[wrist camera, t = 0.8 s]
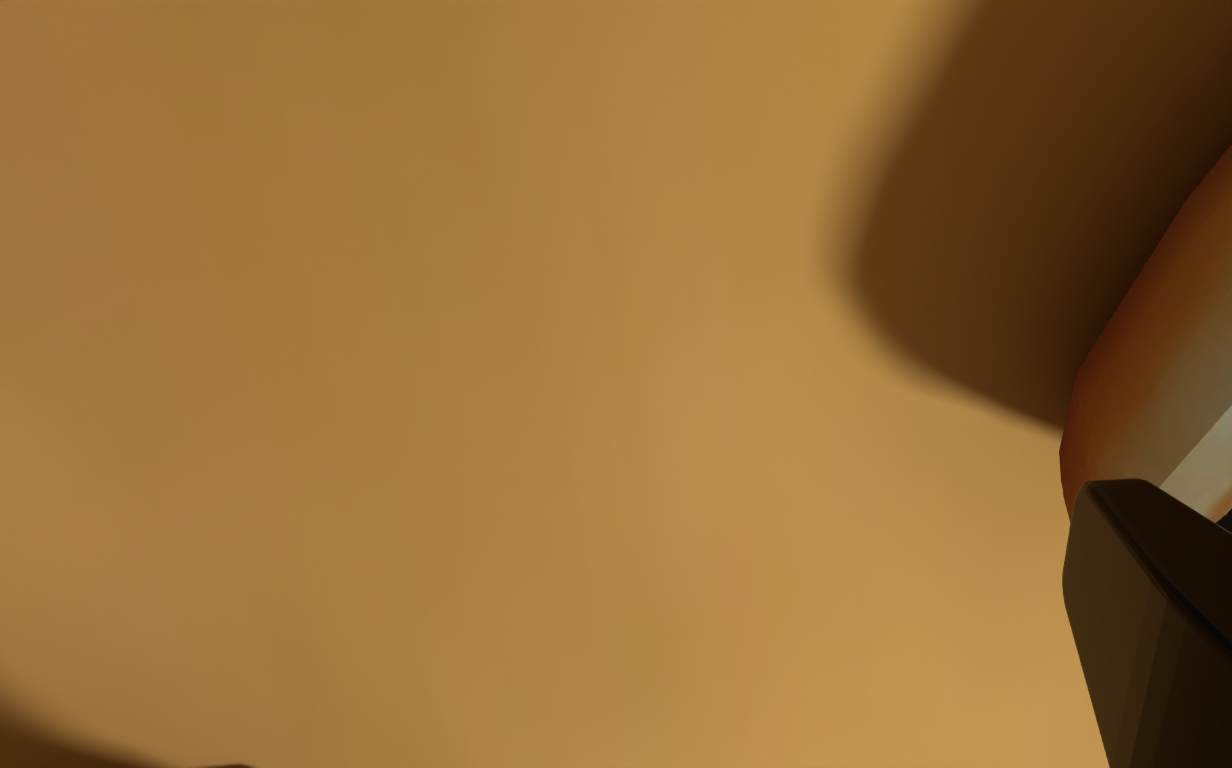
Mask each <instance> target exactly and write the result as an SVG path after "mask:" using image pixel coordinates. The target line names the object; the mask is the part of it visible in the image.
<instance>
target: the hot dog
mask: <svg viewBox="0 0 1232 768" xmlns="http://www.w3.org/2000/svg"><path fill="white" fill-rule="evenodd" d="M1059 456H1060V470H1061V483H1062V487H1063V495H1064V500H1065V504H1066V507H1067V511H1068V515H1069V519H1070V523H1071V517H1072V511H1073V505H1074V500H1075V496H1076V494H1077V492H1078V490H1079V488H1080V487H1081V486H1082V485H1083V484H1085V483H1086V482H1088V481H1095V480H1113V479H1131V478H1137V479H1143V480H1146V481H1148V482H1150V483H1152V484H1154V485H1155V486H1157V487H1159V488H1160V489H1162V490H1163V491H1165V492H1167V493H1168V494H1170V495H1171V496H1173V497H1175V498H1176V499H1178V500H1179V501H1181V502H1183V503H1184V504H1186V505H1187V506H1189V507H1191V508H1192V509H1194V510H1195V511H1197V512H1198V513H1200V514H1202V515H1203V516H1205V517H1206V518H1208V519H1210V520H1211V521H1213V522H1214V523H1216V524H1218V525H1219V526H1221V527H1222V528H1224V529H1226V530H1227V531H1229V532H1230V533H1232V145H1231V146H1230V147H1229V148H1228V150H1227V151H1226V152H1225V153H1224V154H1223V156H1222V157H1221V158H1220V159H1219V161H1218V162H1217V163H1216V164H1215V166H1214V167H1213V168H1212V169H1211V170H1210V172H1209V173H1208V174H1207V175H1206V177H1205V178H1204V179H1203V180H1202V181H1201V183H1200V184H1199V185H1198V186H1197V188H1196V189H1195V190H1194V191H1193V193H1192V194H1191V195H1190V196H1189V197H1188V199H1187V200H1186V201H1185V203H1184V204H1183V206H1182V207H1181V209H1180V211H1179V212H1178V214H1177V215H1176V217H1175V218H1174V220H1173V222H1172V223H1171V225H1170V226H1169V228H1168V229H1167V231H1166V233H1165V234H1164V236H1163V237H1162V239H1161V240H1160V242H1159V244H1158V245H1157V247H1156V248H1155V250H1154V251H1153V253H1152V255H1151V256H1150V258H1149V259H1148V261H1147V262H1146V264H1145V266H1144V267H1143V269H1142V270H1141V272H1140V273H1139V275H1138V277H1137V278H1136V280H1135V281H1134V283H1133V284H1132V286H1131V288H1130V289H1129V291H1128V292H1127V294H1126V296H1125V297H1124V299H1123V300H1122V302H1121V303H1120V305H1119V307H1118V308H1117V310H1116V311H1115V313H1114V314H1113V316H1112V318H1111V319H1110V321H1109V322H1108V324H1107V325H1106V327H1105V329H1104V330H1103V332H1102V333H1101V335H1100V336H1099V338H1098V340H1097V341H1096V343H1095V344H1094V346H1093V347H1092V349H1091V351H1090V352H1089V354H1088V355H1087V357H1086V358H1085V360H1084V362H1083V363H1082V365H1081V366H1080V368H1079V369H1078V371H1077V373H1076V377H1075V382H1074V386H1073V391H1072V395H1071V400H1070V405H1069V409H1068V414H1067V418H1066V423H1065V427H1064V432H1063V436H1062V441H1061V445H1060V450H1059Z"/></svg>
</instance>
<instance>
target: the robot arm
mask: <svg viewBox="0 0 1232 768" xmlns="http://www.w3.org/2000/svg"><path fill="white" fill-rule="evenodd" d="M1062 586H1063V596H1064V603H1065V607H1066V611H1067V615H1068V618H1069V622H1070V626H1071V629H1072V633H1073V637H1074V640H1075V644H1076V647H1077V651H1078V655H1079V658H1080V662H1081V666H1082V669H1083V673H1084V676H1085V680H1086V684H1087V687H1088V691H1089V695H1090V698H1091V702H1092V705H1093V709H1094V713H1095V716H1096V720H1097V724H1098V727H1099V731H1100V734H1101V738H1102V742H1103V745H1104V749H1105V753H1106V756H1107V760H1108V763H1109V767H1110V768H1232V533H1230V532H1229V531H1227V530H1226V529H1224V528H1222V527H1221V526H1219V525H1218V524H1216V523H1214V522H1213V521H1211V520H1210V519H1208V518H1206V517H1205V516H1203V515H1202V514H1200V513H1198V512H1197V511H1195V510H1194V509H1192V508H1191V507H1189V506H1187V505H1186V504H1184V503H1183V502H1181V501H1179V500H1178V499H1176V498H1175V497H1173V496H1171V495H1170V494H1168V493H1167V492H1165V491H1163V490H1162V489H1160V488H1159V487H1157V486H1155V485H1154V484H1152V483H1150V482H1148V481H1146V480H1143V479H1137V478H1131V479H1113V480H1095V481H1088V482H1086V483H1085V484H1083V485H1082V486H1081V487H1080V488H1079V490H1078V492H1077V494H1076V496H1075V500H1074V505H1073V511H1072V517H1071V523H1070V530H1069V536H1068V542H1067V548H1066V555H1065V561H1064V567H1063V575H1062Z"/></svg>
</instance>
